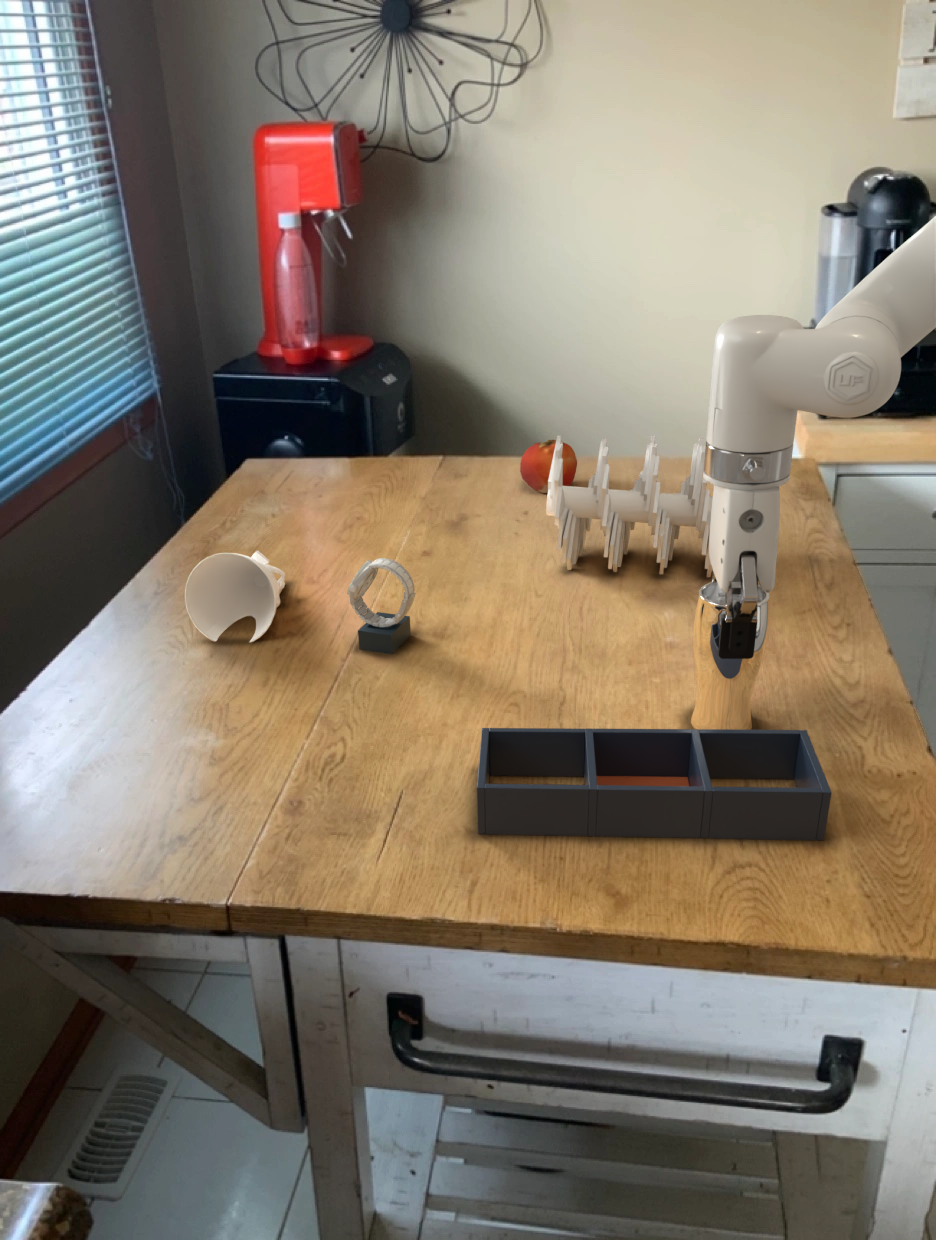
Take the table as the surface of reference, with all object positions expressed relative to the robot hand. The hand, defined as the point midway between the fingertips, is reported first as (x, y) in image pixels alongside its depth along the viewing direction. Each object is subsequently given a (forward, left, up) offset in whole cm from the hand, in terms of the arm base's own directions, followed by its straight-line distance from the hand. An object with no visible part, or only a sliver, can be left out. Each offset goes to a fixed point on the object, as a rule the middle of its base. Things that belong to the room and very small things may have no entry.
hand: (729, 638), depth 110 cm
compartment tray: (+9, +15, -10) cm, 20 cm away
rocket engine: (+54, -28, -10) cm, 62 cm away
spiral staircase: (+5, -43, -10) cm, 45 cm away
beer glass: (0, 0, -10) cm, 10 cm away
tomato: (+17, -77, -10) cm, 80 cm away
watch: (+37, -19, -10) cm, 43 cm away
